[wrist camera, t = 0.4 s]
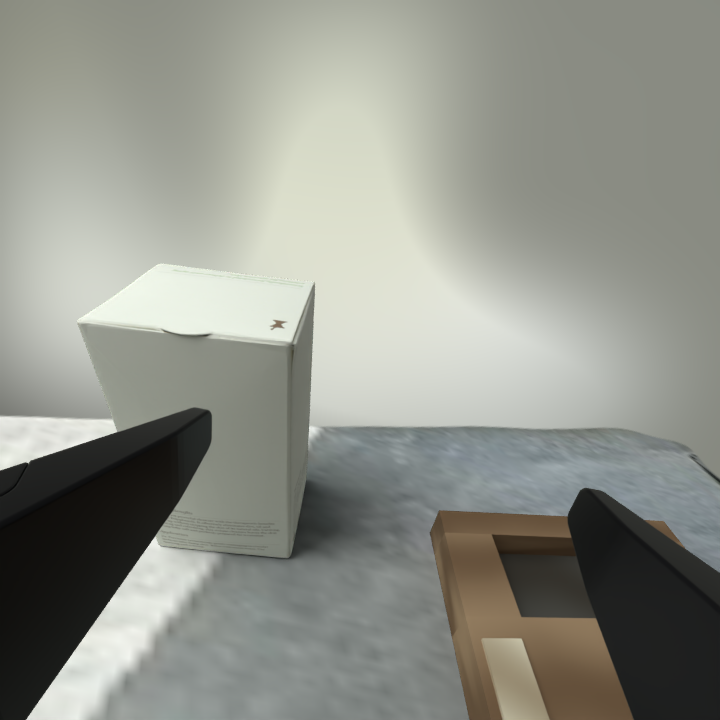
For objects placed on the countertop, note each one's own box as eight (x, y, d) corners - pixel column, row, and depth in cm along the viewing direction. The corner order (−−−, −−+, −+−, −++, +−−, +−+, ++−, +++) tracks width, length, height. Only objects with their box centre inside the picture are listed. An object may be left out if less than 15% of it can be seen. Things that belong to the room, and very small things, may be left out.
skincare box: (307, 478, 27) (325, 280, 19) (289, 569, 22) (303, 345, 13) (194, 464, 27) (160, 255, 19) (146, 552, 21) (67, 312, 13)
